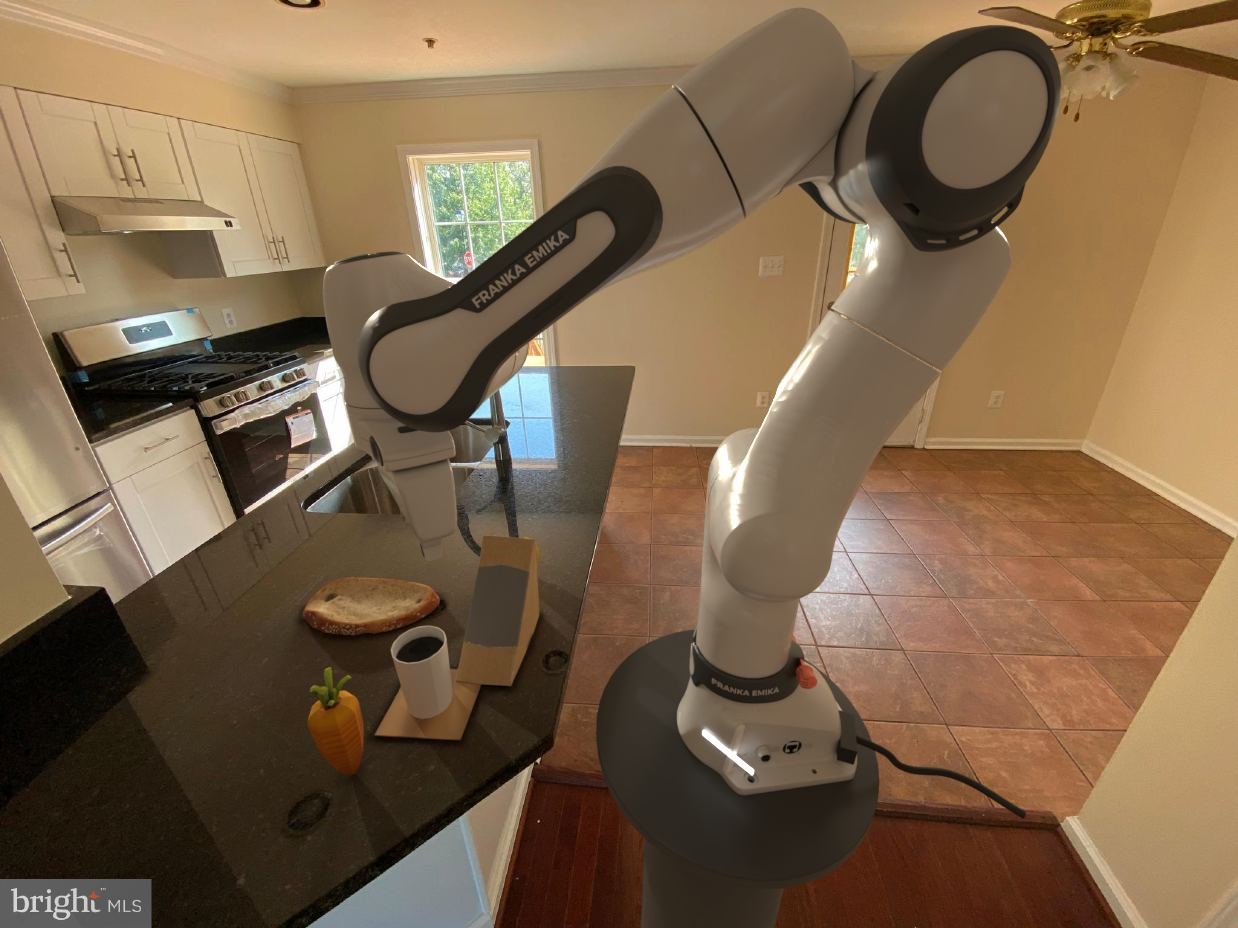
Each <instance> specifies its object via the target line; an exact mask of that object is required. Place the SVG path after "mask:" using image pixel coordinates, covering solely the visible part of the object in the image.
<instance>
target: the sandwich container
mask: <svg viewBox="0 0 1238 928" xmlns="http://www.w3.org/2000/svg"><path fill="white" fill-rule="evenodd" d="M536 544H537V541H536V539H534V538H530V539H525V538H522V537H513V536H503V535H491V534H490V535H489V534H484V535H483V536H482V541H481V548H480V554H479V559H478V566H477V572H476V576H475V583H474V588H473V593H472V597H471V601H470V602H471V603H470V607H469V614H468V617H467V623H466V628H465V634H464V638H463V643H462V648H461V653H460V657H459V663H458V667H457V669H458V671H457V676H456V681H463V682H470V683H477V684H482V685H488V686H506V687H512V686H513V683H514V680H515V679H516V676H517V673H518V672H519V670H520V667H521V665H522V662H523V660H524V657H525V655H526V653H527V650H528V648H529V645H530V642H531V639H532V637H533V635H534V633H535V630H536V627H537V623H538V621H539V618H540V601H539V581H538V566H537V558H536Z"/></svg>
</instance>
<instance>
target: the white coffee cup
mask: <svg viewBox="0 0 1238 928" xmlns="http://www.w3.org/2000/svg"><path fill="white" fill-rule="evenodd" d="M390 653H391V657H392V661H393V664H394V667H395V671H396V674H397V677H398V681H399V685H400V688H401V687H402V691H403V694H404V697H405V701H406V704H407V707H408V711H409V713H410V714H411V715H412V716H413V717H415V718H419V719H427V718H432V717H434V716H437V715H439V714H440V713H442V712H443V711H444V710H445V709H447V707H448V706H449V704H450V703H451V701H452V696H453V693H452V684H451V675H450V669H451V668H450V667H451V665H450V659H449V658H450V657H449V648H448V641H447V636H446V633H445V631H444V630H443V629H441V628H440V627H439V626H434V625H421V626H416V627H413V628H410V629H408V630H407V631H405V632H403V633H401V634H400V635H399V636H398V637H397V638H396V639H395V640H394V641H393V643H392V645H391V647H390Z"/></svg>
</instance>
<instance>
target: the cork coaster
mask: <svg viewBox="0 0 1238 928" xmlns="http://www.w3.org/2000/svg"><path fill="white" fill-rule="evenodd" d="M457 671H458V668H450V675H451V684H452V693H453V696H452V701H451V703H450V704H449V706H448V707H447V709H445V710H444V711H443V712H442V713H440V714H439V715H437V716H434V717H432V718H427V719H419V718H415V717H413V716H412V715H411V714H410V713H409V711H408V707H407V704H406V701H405V697H404V694H403V691H402V687H401V686H400V688H399V690H398V692H397V694H396V696H395V697H394V699H393V701H392V703H391V705H390V706H389V708H388V709H387V712H386V713H385V714H384V717H383V719H382V720H381V722H380V724H379V726H378V727H377V730H376V731H375V733H374V737H385V738H386V737H389V738H406V739H407V738H408V739H423V740H424V739H425V740H426V739H428V740H444V741H445V740H447V741H461V740H462V738H463V735H464V732H465V730H466V727H467V724H468V723H469V720H470V717H471V714H472V711H473V709H474V706H475V703H476V701H477V698H478V695H479V692H480V690H481V687H482V685H483V684H477V683H470V682H463V681H456V676H457Z"/></svg>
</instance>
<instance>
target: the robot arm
mask: <svg viewBox="0 0 1238 928" xmlns="http://www.w3.org/2000/svg"><path fill="white" fill-rule="evenodd" d="M1060 71H1061V70H1060V67H1059V64H1058V61H1057V58H1056V56H1055V54H1054V51H1052V48H1051V47H1050V46H1049V45H1048V44H1047V42H1046V41H1044V39H1043V38H1041V37H1040V36H1038V35H1037V34H1035V33H1034V32H1032V31H1029V30H1027V29H1025V28H1020V27H1017V26H1013V25H1005V24H987V25H980V26H978V25H977V26H972V27H967V28H963V29H959V30H955V31H952V32H949V33H947V34H944V35H941V36H940V37H938V38H936V39H934V40H932V41H930V42H929V43H927V44H926V45H924V46H922V48H920V49H919V50H916V51H914V52H912V53H910V54H908V55H905V56H904V57H902V58H899V59H898V60H896V61H894V62H892V63H890V64H888V66H887V65H886V66H885V67H884V68H883V69H880V70H877V71H874V70H872V69H866V68H864V67H862V66H861V65H859V63H857V61H856V60H855V59H852V57H851V53H850V50H849V47H848V45H847V43H846V41H845V39H844V37H843V36H842V34H841V32H840V31H839V30H838V28H837V27H836V26H835V24H833V23H832V21H830V19H828V18H827V17H826V16H825V15H823V14H822V13H820V12H818V11H816V10H814V9H813V8H807V7H792V8H788V9H785V10H782V11H780V12H778V13H776V14H774V15H772V16H771V17H768V18H767V19H766V20H763V21H761V22H760V23H758V24H757V25H755V26H753V27H751V28H750V29H748V30H746V31H745V32H743V33H741V34H740V35H738V36H737V37H735V38H733V39H732V40H731V41H729V42H727V43H726V44H725V45H723V46H722V47H720V48H719V49H718V50H716V51H714V52H712V53H711V54H710V55H709V56H708V57H706V58H705V59H704V60H702V61H701V62H700V63H698V64H697V65H696V66H694V67H693V68H691V69H690V70H689V71H688V72H687V73H686V74H684V75H683V76H682V77H680V78H679V79H678V80H677V81H676V82H675V83H673V84H672V85H671V86H670V87H669V88H667V90H665V91H664V92H663V93H662V94H660V95H659V97H657V98H656V99H655V100H654V101H652V103H651V104H650V105H649V106H648V107H646V108H645V110H643V112H641V113H640V115H638V117H636V118H635V119H634V120H633V121H632V122H631V123H630V125H628V126H627V127H626V129H624V130H623V131H622V132H621V134H620V135H619V136H618V137H617V138H616V139H615V140H614V142H612V144H611V145H610V146H609V147H608V148H607V149H606V150H605V152H603V154H602V155H601V156H600V157H599V158H598V159H597V160H596V161H595V162H594V164H592V165H591V167H590V168H589V169H588V170H587V171H586V172H585V173H584V174H583V175H582V177H581V178H580V179H578V181H576V183H575V184H574V185H573V186H572V187H571V188H570V189H569V190H568V191H567V192H566V193H565V194H564V195H563V196H562V197H561V198H560V199H559V200H558V202H556V204H554V205H552V207H551V208H549V209H548V210H546V212H544V213H543V214H542V215H540V216H539V217H538V218H537V219H535V220H534V221H533V222H532V223H530V224H529V225H528V226H527V227H525V228H524V229H523V230H522V231H520V233H518V234H516V236H514V237H513V238H512V239H511V240H510V241H508V242H507V243H506V244H504V245H503V246H502V247H500V248H499V249H498V250H496V251H495V252H494V253H493V254H491V255H490V256H489V257H488V258H487V259H485V260H484V261H483V262H482V263H480V264H479V265H477V266H476V267H475V268H474V269H472V270H471V271H470V272H469V273H468V274H466V275H465V276H463V277H462V278H461V279H459V280H458V281H457V282H455V281H452V280H450V279H448V278H445V277H442V276H440V275H439V274H437V273H434V272H433V271H431V270H429V269H428V268H426V267H424V266H422V265H421V264H420V263H418V262H417V261H416V260H415V259H414V258H413V257H412V256H411V255H409V254H406V253H404V252H400V251H378V252H377V251H376V252H374V253H363V254H358V255H353V256H349V257H346V258H342V259H338V260H337V261H334V263H333V264H331V265H330V266H329V267H328V268H327V269H326V270H325V272H324V275H323V281H322V301H323V309H324V310H323V311H324V315H325V322H326V328H327V332H328V338H329V342H330V346H331V350H332V354H333V357H334V360H335V362H336V364H337V366H338V367H339V368H340V369H339V370H340V371H341V373H342V376H343V381H344V389H343V400H344V405H345V409H346V412H347V413H346V414H347V417H348V422H349V426H350V430H351V434H352V438H353V442H354V447H355V448H356V449H358V450H359V451H361V452H363V453H366V454H367V455H369V457H371V459H372V461H374V462H376V465H377V469H378V472H379V474H380V477H381V478H382V480H383V481H384V483H385V486H386V487H387V489H388V490H389V492H390V494H391V495H392V497H393V498H394V501H395V502H396V504H397V506H398V508H399V512H400V517H401V519H402V521H403V522H404V524H406V525H409V527H410V528H411V531H412V532H413V534H414V536H415V537H416V539H417V541H418V542H419V545H420V550H421V554H422V556H423V558H424V561H425V562H427V563H431V562H434V561H437V560H440V559H441V558H442V557H443V549H442V540H443V539H444V538H446V537H449V536H452V535H453V534H455V532H456V529H457V526H458V511H457V508H458V507H457V497H456V487H455V477H454V471H453V467H452V463H451V461H450V459H452V458H454V457H456V444H455V440H454V438H453V436H452V433H451V430H454V429H457V428H459V427H460V426H463V425H464V424H465V423H466V422H467V421H468V420H469V419H470V418H471V417H473V415H474V414H475V413H476V412H477V411H478V410H479V409H480V407H481V406H482V405H483V404H484V403H485V402H487V400H488V399H490V398H491V397H492V396H494V394H496V393H498V391H499V390H501V389H502V388H503V387H505V386H506V385H507V384H508V383H509V382H510V381H511V380H512V379H513V378H514V377H515V376H516V375H517V374H518V372H519V371H520V370H522V368H523V367H524V364H525V362H526V360H527V357H528V354H529V349H530V348H529V347H530V342H531V341H533V340H534V339H535V338H537V337H538V336H540V335H541V334H542V333H543V332H545V331H546V330H547V329H549V328H550V327H552V326H553V325H554V324H555V323H557V322H559V320H561V319H562V318H563V317H564V316H566V315H567V314H569V313H570V312H571V311H573V310H574V309H576V308H577V307H578V306H579V305H581V304H582V303H584V302H585V301H587V300H588V299H589V298H591V297H592V296H595V295H596V294H598V293H599V292H601V291H603V290H605V289H607V288H609V287H610V286H613V285H615V284H617V283H619V282H622V281H624V280H626V279H630V278H631V277H634V276H637V275H640V274H642V273H643V274H644V273H646V272H648V271H652V270H655V269H657V268H660V267H663V266H665V265H667V264H671V263H672V262H675V261H677V260H679V259H681V258H684V257H686V256H688V255H690V254H692V253H694V252H695V251H698V250H700V249H701V248H703V247H705V246H707V245H708V244H710V243H712V242H713V241H716V239H719V238H720V237H722V236H723V235H725V234H726V233H728V232H729V231H731V230H732V229H734V228H735V227H736V226H738V225H739V224H741V223H742V222H743V221H744V220H746V219H747V218H749V217H750V216H751V215H752V214H754V213H756V212H757V211H758V210H759V209H761V208H763V206H765V204H767V203H768V202H770V201H771V200H772V199H774V198H775V197H777V196H778V195H780V194H782V193H784V192H786V191H789V189H792V188H793V187H795V186H798V187H800V188H801V189H802V190H803V191H804V192H805V193H806V194H807V195H808V196H809V197H810V198H811V199H812V200H813V202H815V203H816V204H817V206H819V208H821V210H823V211H824V212H825V213H827V214H828V215H829V216H831V217H833V218H835V220H838V221H840V222H843V223H848V224H853V225H864V226H866V227H865V241H864V247H863V251H862V254H861V258H860V260H859V262H858V265H857V267H856V269H855V272H854V273H853V277H852V279H851V280H850V281H849V282H848V284H847V285H846V286H845V288H844V289H842V292H841V293H840V294H839V296H838V297H837V299H836V300H835V301H834V303H833V304H832V305H831V307H830V309H829V310H828V311H827V312H826V314H825V315H824V317H823V318H822V320H821V322H820V323H819V324H818V326H817V327H816V329H815V330H814V331H813V333H812V335H811V336H810V338H809V339H808V340H807V342H806V343H805V345H804V346H803V348H802V349H801V351H799V354H798V355H797V356H796V358H795V359H794V360H793V362H792V364H791V365H790V367H789V369H788V370H787V371H786V373H785V374H784V375H783V377H782V378H781V380H780V382H779V384H778V386H777V389H776V392H775V395H774V398H773V400H772V402H771V405H770V407H769V410H768V411H767V414H766V416H765V417H764V420H763V422H762V424H761V426H760V428H759V427H747V428H743V429H740V430H737V431H735V432H733V433H731V434H729V435H728V436H727V437H726V438H725V439H724V440H723V441H722V442H721V443H720V445H719V446H718V448H717V449H716V451H715V453H714V455H713V457H712V460H711V462H710V465H709V467H708V474H707V484H706V485H707V486H706V498H705V499H706V501H705V512H704V513H705V515H704V526H703V528H704V530H703V531H704V532H703V543H702V559H701V560H702V562H701V577H700V578H701V579H700V590H699V601H698V614H697V625H696V627H695V628H694V630H695V631H694V634H693V640H692V644H691V651H690V665H689V669H690V674H691V676H690V680H689V683H688V686H687V689H686V692H685V694H684V696H683V698H682V700H681V702H680V704H679V707H678V710H677V725H678V729H679V733H680V735H681V737H682V739H683V741H684V743H685V745H686V746H687V747H688V749H689V750H690V751H691V752H692V753H693V754H694V756H696V757H697V758H698V759H699V760H700V761H701V762H703V763H704V764H706V765H707V766H709V767H710V768H712V769H713V770H715V771H716V772H718V773H719V774H720V775H721V776H722V778H723V779H724V780H725V782H726V783H727V784H728V785H729V786H730V788H731V789H732V790H733V791H735V792H736V793H737V794H739V795H751V794H758V793H765V792H772V791H779V790H786V789H793V788H800V787H806V786H813V785H820V784H827V783H834V782H841V781H847V780H851V779H853V778H854V776H855V773H856V768H857V743H858V744H860V745H862V746H865V747H867V748H870V749H872V750H874V751H875V753H878V754H880V755H881V756H883V757H885V758H886V759H887V760H888V761H889V762H890V763H891V765H892V766H893V767H895V768H896V769H898V770H900V771H902V772H905V773H908V774H911V775H916V776H933V777H934V776H935V777H942V778H943V777H944V778H948V779H951V780H955V781H957V782H959V783H962V784H964V785H967V786H969V787H971V788H972V789H974V790H976V791H977V792H979V793H981V794H983V795H984V796H986V797H988V798H989V799H991V800H992V801H994V802H995V803H997V804H999V805H1000V806H1001V807H1003V808H1005V809H1006V810H1008V811H1009V812H1011V813H1013V814H1014V815H1016V816H1017V817H1019V818H1021V819H1022V820H1025V818H1026V816H1027V811H1025V810H1024V809H1023V808H1020V807H1019V806H1017V805H1016V804H1014V803H1012V802H1011V801H1009V800H1008V799H1006V798H1004V797H1003V796H1002V795H1000V794H998V793H997V792H996V791H994V790H992V789H990V788H989V787H987V786H986V785H984V784H982V783H980V782H979V781H977V780H975V779H973V778H970V777H969V776H967V775H964V774H962V773H960V772H957V771H954V770H951V769H947V768H942V767H932V766H915V765H909V764H906V763H903V762H901V761H900V760H899V759H898V758H897V756H895V755H894V753H892V752H891V751H890V750H888V749H887V748H885V747H884V746H882V745H880V744H878V743H876V742H873V741H872V742H871V741H869V740H866V739H864V738H861V737H859V736H857V735H856V730H855V719H854V714H851V713H847V712H844V711H842V710H841V708H840V706H839V705H838V703H837V702H836V700H835V698H834V696H833V694H832V692H831V689H830V688H829V686H828V684H827V682H826V681H825V679H824V678H823V676H822V675H821V674H820V673H819V671H818V670H817V669H815V668H814V667H813V666H811V665H809V664H807V663H806V662H804V659H805V654H804V651H803V649H802V647H801V645H799V644H798V642H797V640H796V636H795V635H794V631H795V626H796V622H797V616H798V612H799V611H798V610H799V604H800V600H801V599H803V598H805V597H807V596H808V595H810V594H812V593H813V592H814V591H816V590H817V589H818V588H819V587H820V586H821V585H822V584H823V583H824V582H825V579H826V578H827V577H828V574H829V573H830V570H831V566H832V561H833V555H834V548H835V545H836V541H837V539H838V538H837V537H838V535H839V533H840V529H841V527H842V524H843V522H844V521H845V520H844V519H845V517H846V516H847V514H848V512H849V509H850V508H851V505H852V503H853V502H854V499H855V498H856V496H857V494H858V492H859V489H860V488H861V486H862V484H863V482H864V480H865V479H866V476H867V474H868V472H869V470H870V469H871V467H872V464H873V463H874V461H875V459H877V456H878V455H879V453H880V451H881V450H882V448H883V447H884V446H885V444H886V443H887V441H888V440H889V439H890V437H891V436H892V435H893V433H894V432H895V431H896V429H897V428H898V427H900V425H901V424H902V423H903V421H904V420H905V419H906V418H907V417H908V415H909V414H910V413H911V411H912V410H913V409H914V408H915V406H916V405H917V404H918V403H919V401H920V400H921V399H922V398H923V397H924V396H925V394H926V393H927V392H928V390H929V389H930V388H931V387H932V386H933V384H934V383H935V382H936V381H937V380H938V379H939V377H940V376H941V375H942V373H941V372H944V371H945V370H946V369H947V368H948V366H949V365H950V364H951V363H952V361H954V359H955V358H956V356H957V355H958V354H959V353H960V351H961V350H962V349H963V347H964V346H965V345H966V343H967V342H968V340H969V339H970V337H971V336H972V335H973V333H974V331H975V330H976V328H978V325H979V324H980V323H981V321H982V320H983V318H984V317H985V315H986V313H987V312H988V310H989V309H990V307H991V305H992V303H993V302H994V300H995V298H996V297H997V295H998V293H999V292H1000V289H1001V288H1002V286H1003V285H1004V282H1005V281H1006V279H1007V277H1008V275H1009V272H1010V270H1011V266H1012V261H1013V255H1012V248H1011V245H1010V243H1009V241H1008V239H1007V237H1006V236H1005V234H1004V233H1003V232H1002V230H1001V229H1000V228H999V226H1000V225H1001V224H1003V223H1004V222H1005V221H1006V220H1007V219H1008V218H1009V217H1010V216H1012V214H1013V213H1014V212H1015V211H1016V210H1017V208H1018V207H1019V205H1020V204H1021V202H1022V199H1023V195H1024V192H1025V188H1026V184H1027V182H1028V181H1029V179H1030V177H1032V175H1033V173H1034V172H1035V170H1036V169H1037V166H1038V165H1039V163H1040V161H1041V160H1042V158H1043V156H1044V153H1045V152H1046V149H1047V147H1048V144H1049V143H1050V139H1051V137H1052V135H1053V132H1054V129H1055V126H1056V123H1057V119H1058V115H1059V109H1060V105H1061V94H1062V76H1061V72H1060ZM1005 208H1006V210H1005V211H1004V209H1005ZM1002 211H1004V212H1003V214H1002V215H1001V216H999V217H998V218H997V219H996V220H995V221H994V222H993V219H994V218H995V217H996V216H998V214H1000V213H1001V212H1002ZM936 369H937V370H936ZM940 371H941V372H940ZM748 780H752V781H753V782H754V783H750V782H749V781H748Z"/></svg>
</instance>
